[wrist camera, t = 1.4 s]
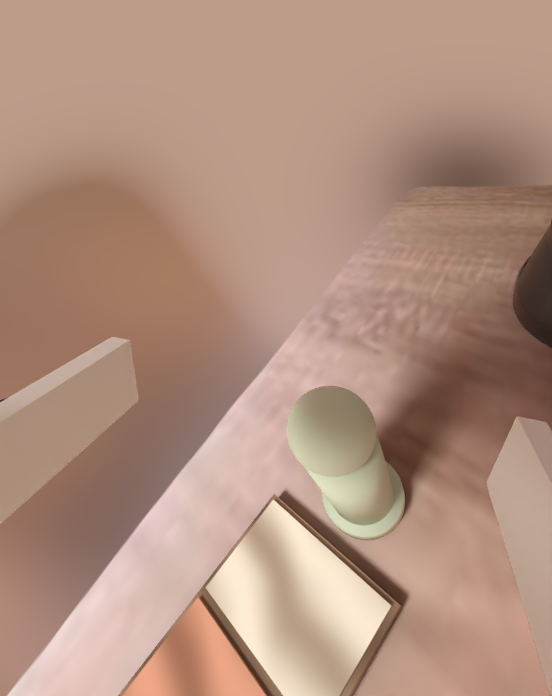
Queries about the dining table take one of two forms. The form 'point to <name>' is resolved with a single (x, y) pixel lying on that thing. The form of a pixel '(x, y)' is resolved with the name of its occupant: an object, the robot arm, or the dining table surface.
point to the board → (273, 620)
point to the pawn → (346, 461)
